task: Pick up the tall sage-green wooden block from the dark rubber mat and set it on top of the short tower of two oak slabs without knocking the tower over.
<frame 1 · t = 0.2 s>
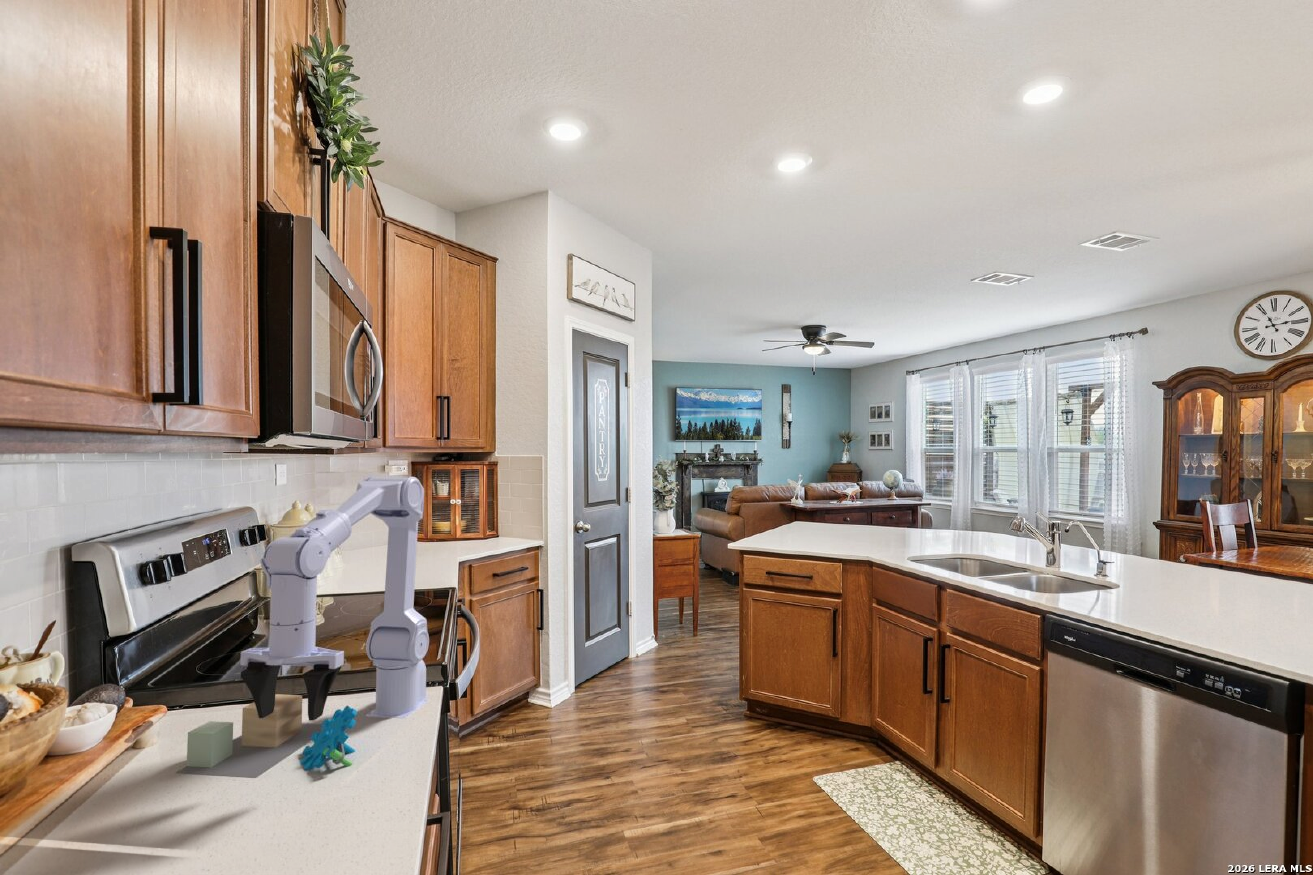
hand: (290, 716, 87), 10 cm above the countertop, tool pointing down, fingers open, 7 cm apart
green block: (209, 760, 93), point 1 cm above the countertop, touching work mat
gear: (329, 765, 93), on the countertop
base slab: (272, 738, 100), point 1 cm above the countertop, touching top slab, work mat
top slab: (272, 719, 101), point 4 cm above the countertop, touching base slab
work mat: (261, 750, 97), on the countertop
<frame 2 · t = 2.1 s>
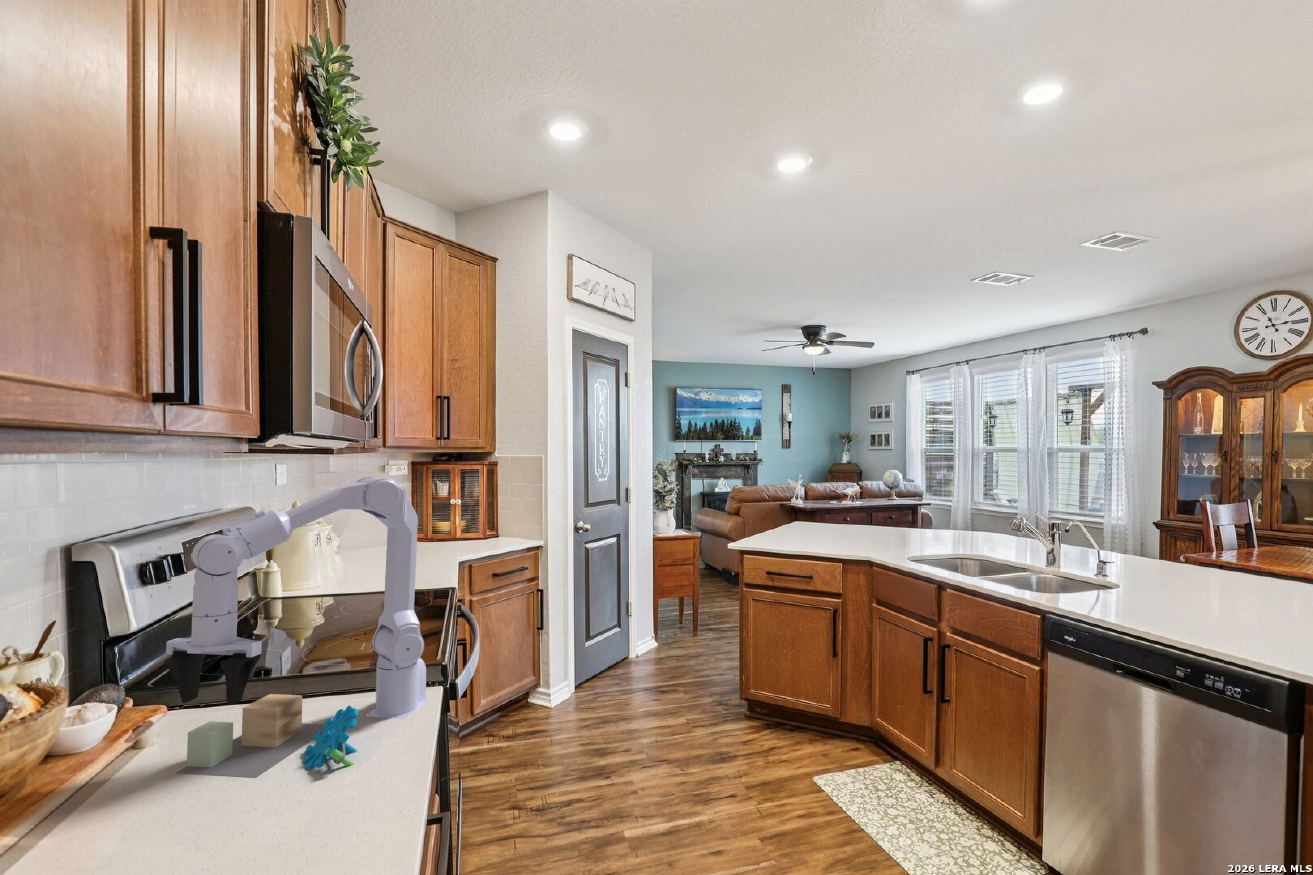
hand: (212, 701, 93), 9 cm above the countertop, tool pointing down, fingers open, 7 cm apart
nothing on the countertop moved.
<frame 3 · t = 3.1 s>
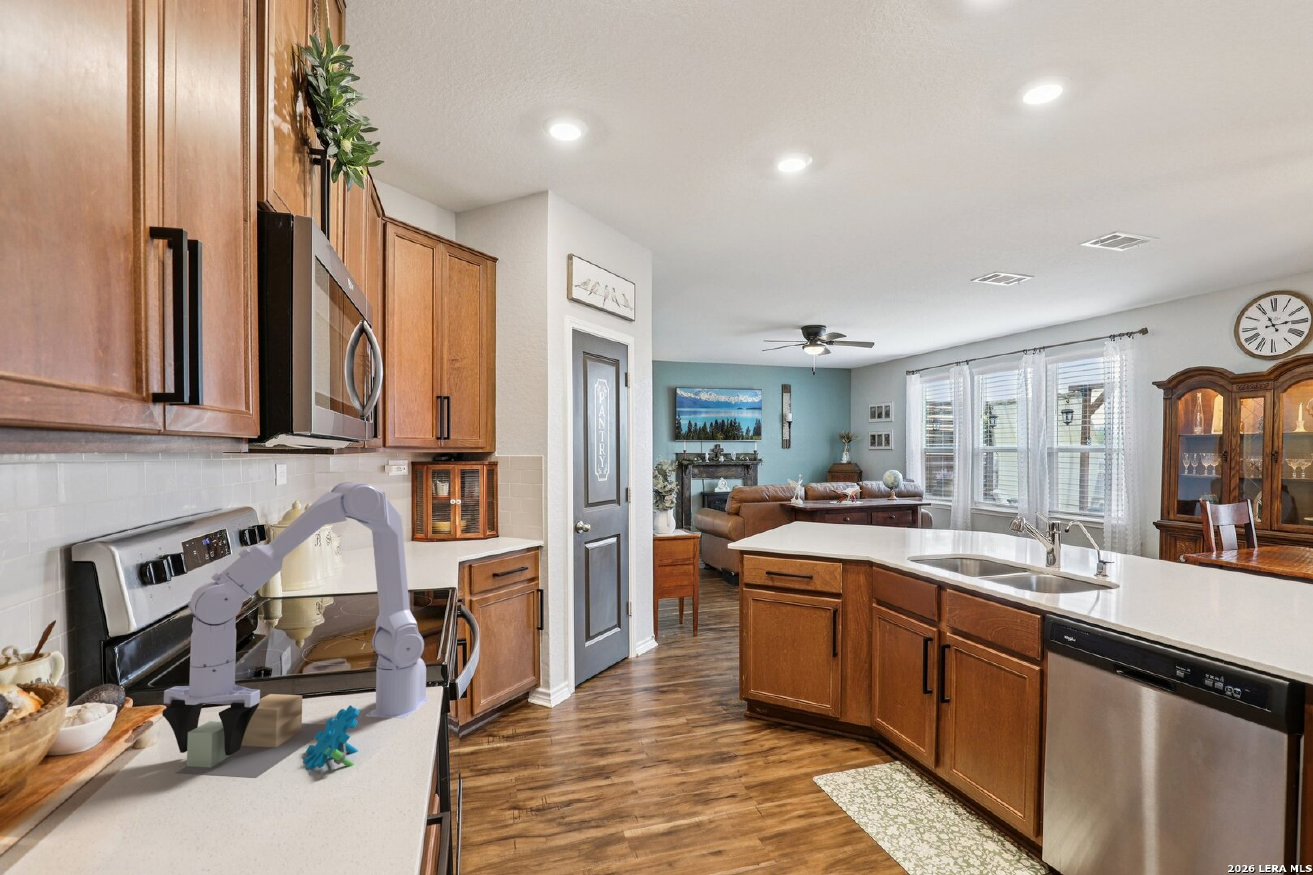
hand: (210, 750, 93), 2 cm above the countertop, tool pointing down, fingers open, 7 cm apart
nothing on the countertop moved.
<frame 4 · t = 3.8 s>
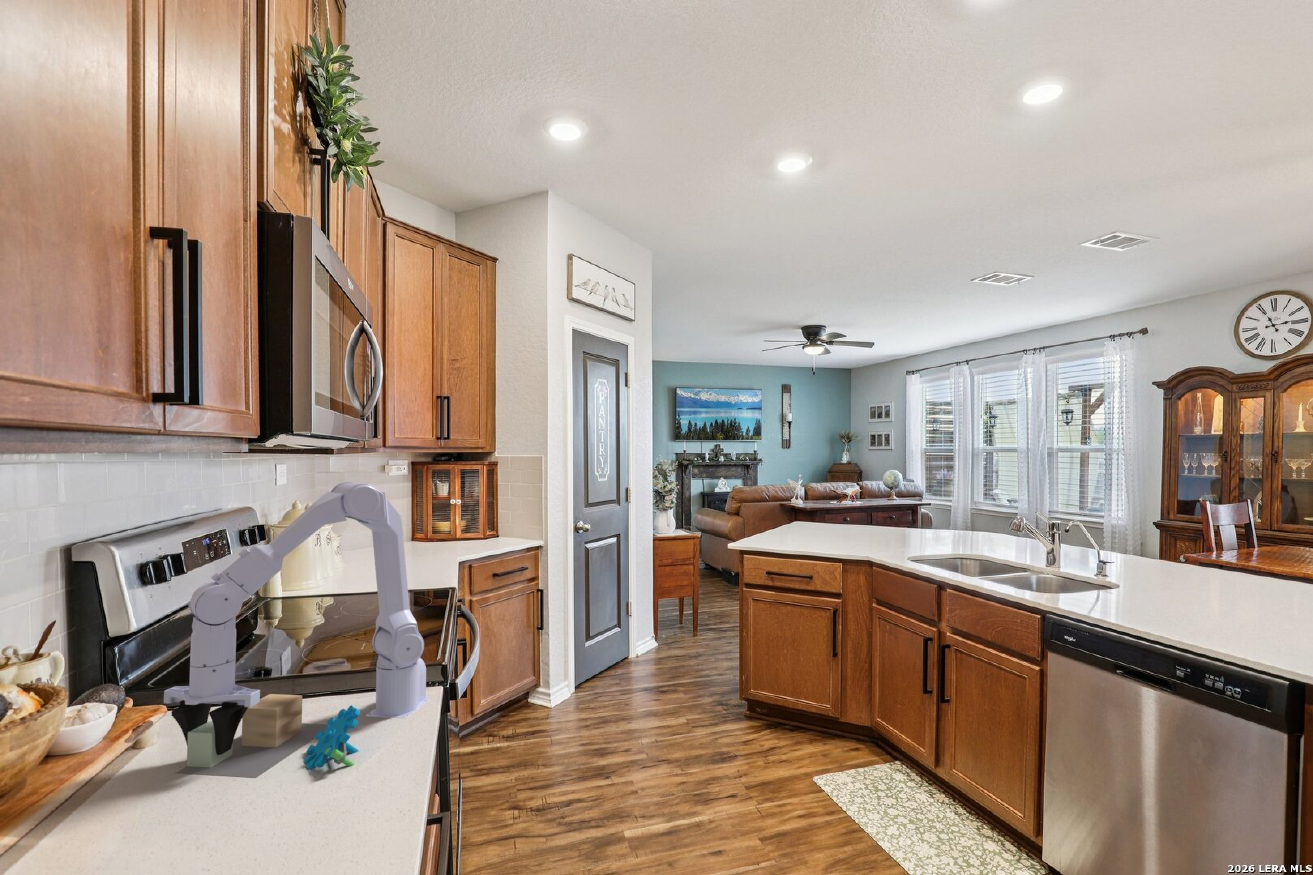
hand: (210, 750, 93), 2 cm above the countertop, tool pointing down, fingers closed on green block, 4 cm apart
green block: (209, 760, 93), point 1 cm above the countertop, touching gripper, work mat
everything else where it was.
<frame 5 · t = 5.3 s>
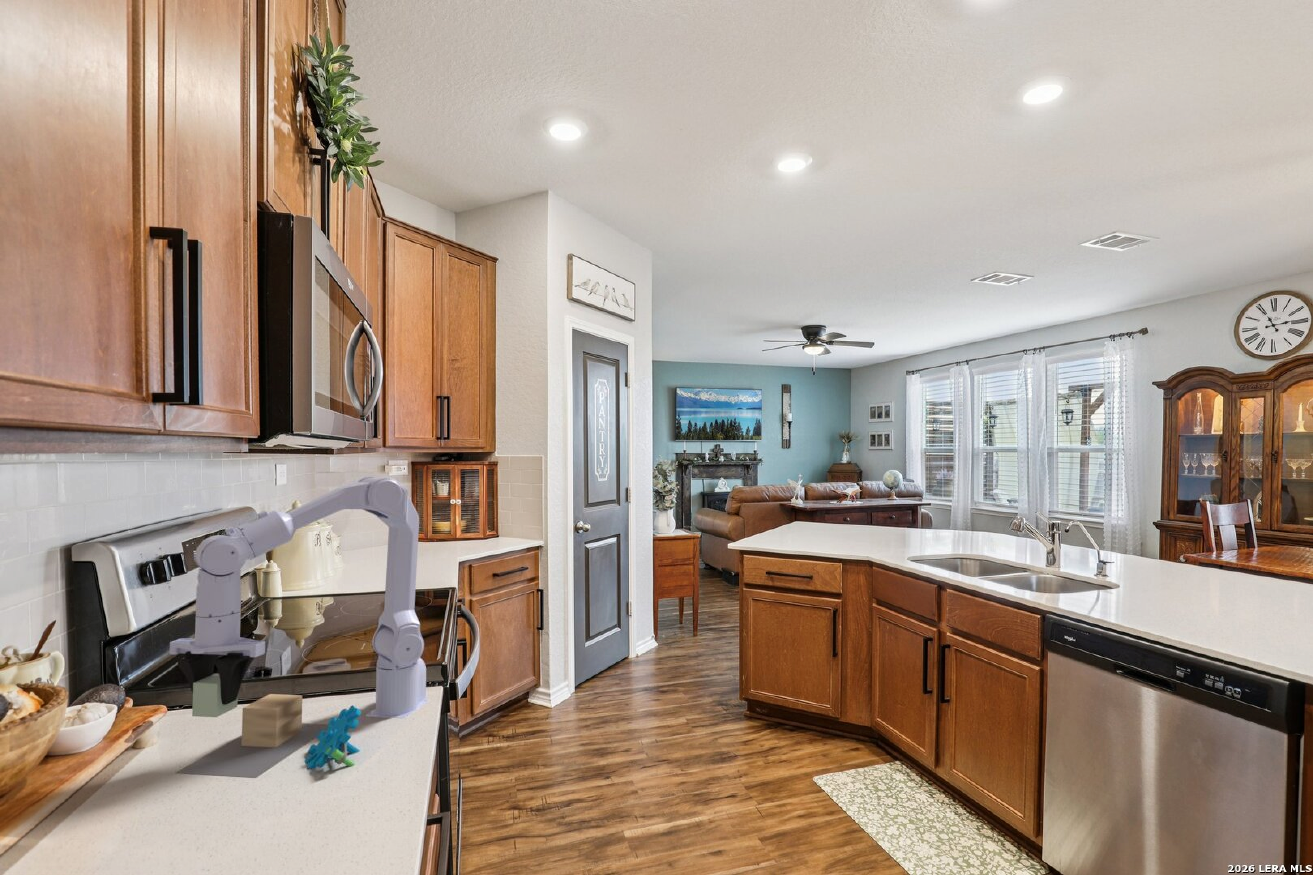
hand: (215, 701, 94), 9 cm above the countertop, tool pointing down, fingers closed on green block, 4 cm apart
green block: (215, 711, 94), point 8 cm above the countertop, touching gripper
everything else where it was.
when the fingers open (9 cm above the countertop, at t = 6.7 s): green block stays where it is, resting on top slab.
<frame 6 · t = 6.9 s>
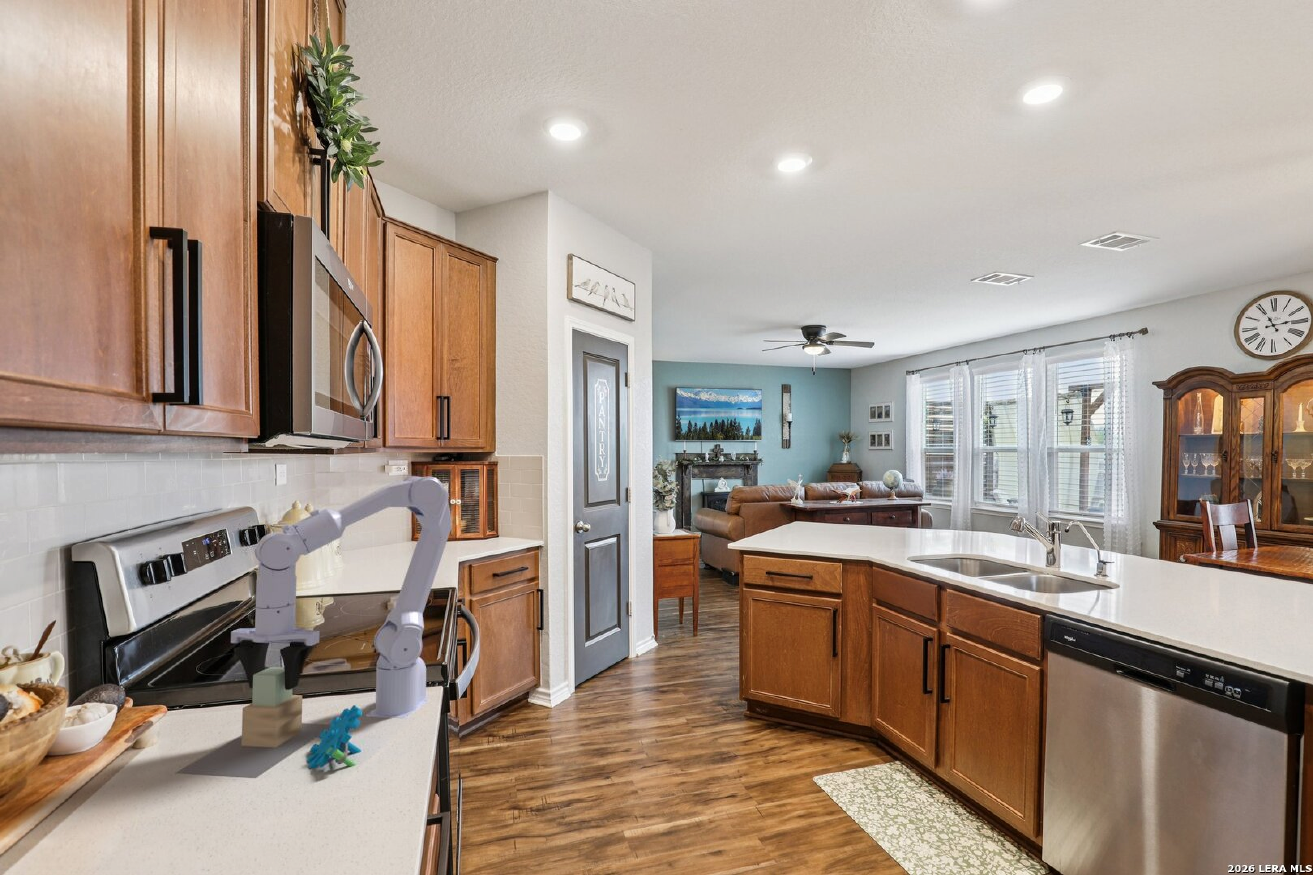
hand: (273, 686, 101), 9 cm above the countertop, tool pointing down, fingers open, 6 cm apart
green block: (272, 701, 101), point 7 cm above the countertop, touching top slab
top slab: (272, 719, 101), point 4 cm above the countertop, touching base slab, green block
everything else where it was.
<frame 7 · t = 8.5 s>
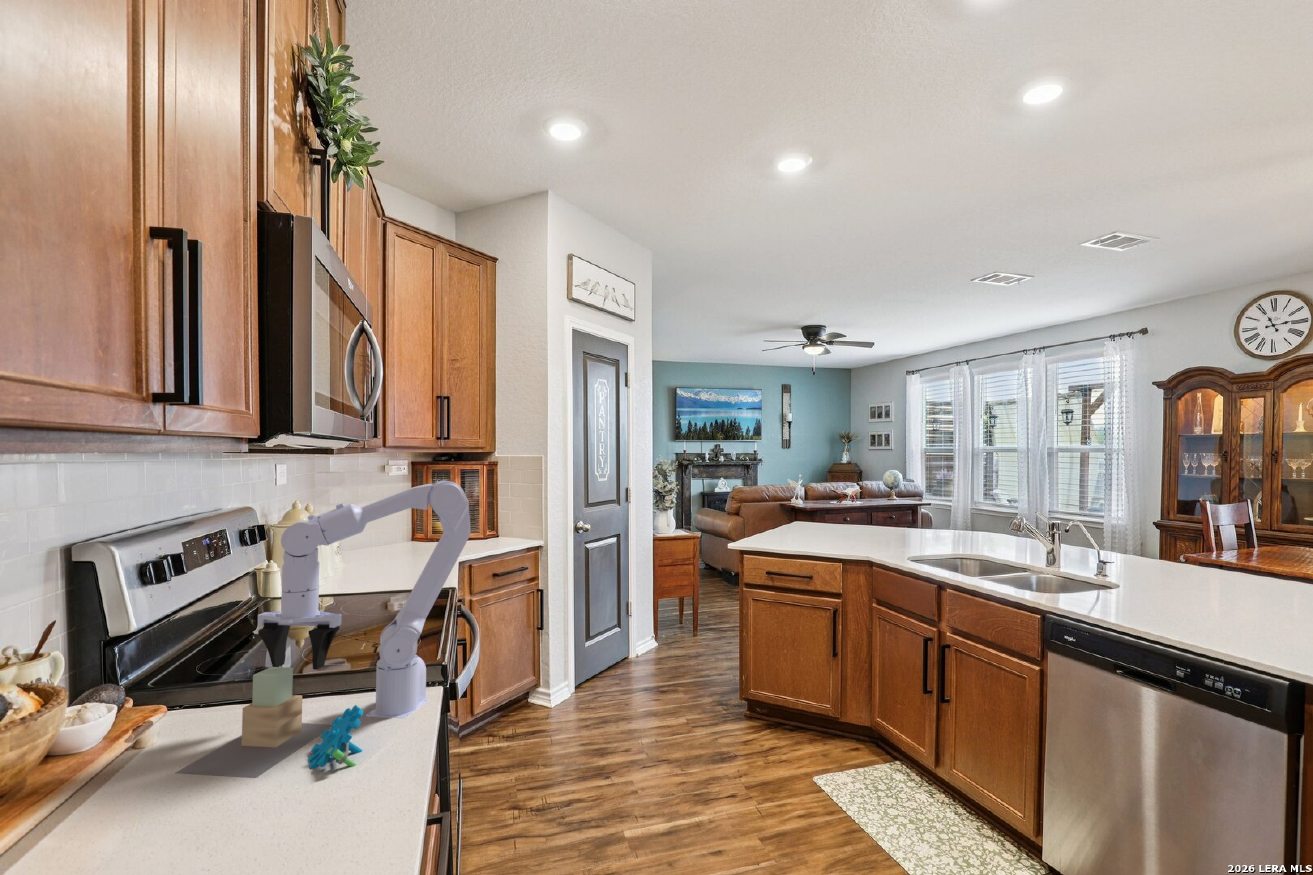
hand: (298, 666, 107), 10 cm above the countertop, tool pointing down, fingers open, 7 cm apart
nothing on the countertop moved.
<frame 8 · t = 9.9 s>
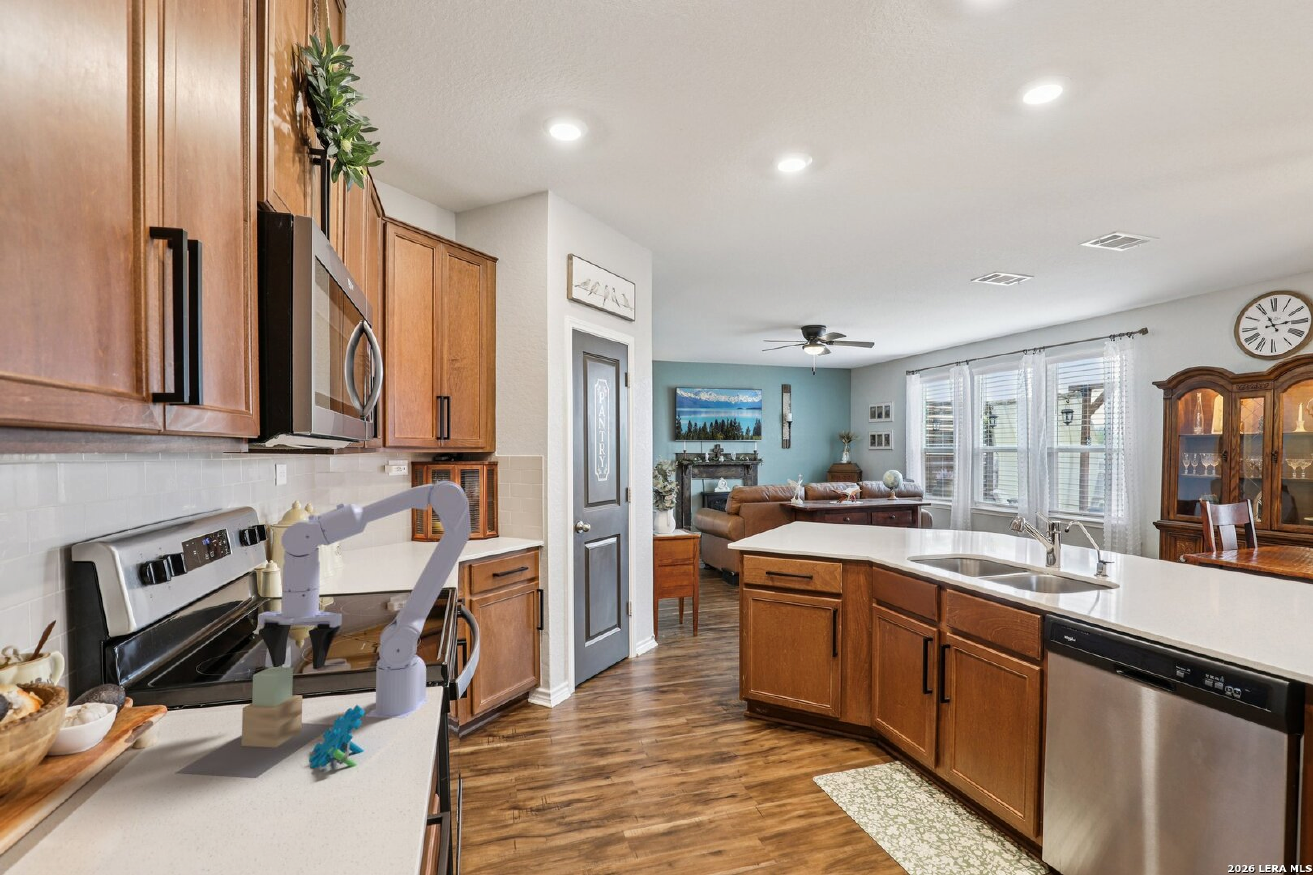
hand: (298, 666, 107), 10 cm above the countertop, tool pointing down, fingers open, 7 cm apart
at the end: green block 0.1 cm off-centre on the top slab, point 3.0 cm above the top slab's base; top slab 0.0 cm off-centre on the base slab, point 3.0 cm above the base slab's base; green block tilted 0° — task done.
